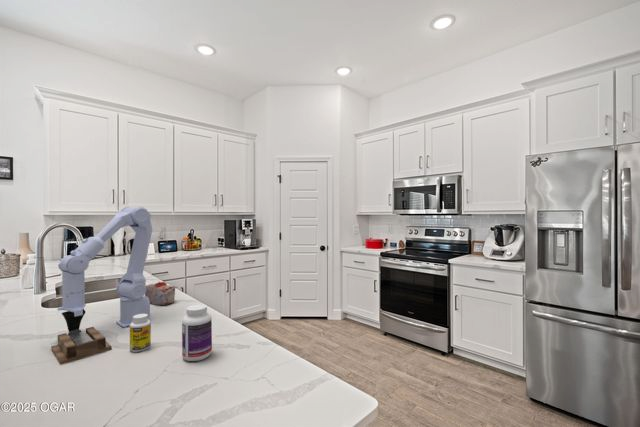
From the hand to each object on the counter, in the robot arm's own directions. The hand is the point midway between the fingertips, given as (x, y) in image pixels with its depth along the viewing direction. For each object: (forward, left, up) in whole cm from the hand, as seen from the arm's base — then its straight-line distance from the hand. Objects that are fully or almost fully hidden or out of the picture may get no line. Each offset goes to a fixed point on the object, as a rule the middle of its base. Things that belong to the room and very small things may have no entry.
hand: (73, 333), depth 99 cm
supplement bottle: (-12, +23, -3) cm, 26 cm away
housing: (0, +10, -2) cm, 10 cm away
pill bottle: (-21, +41, -3) cm, 46 cm away
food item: (-35, -21, -3) cm, 41 cm away
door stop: (0, +8, -2) cm, 9 cm away
